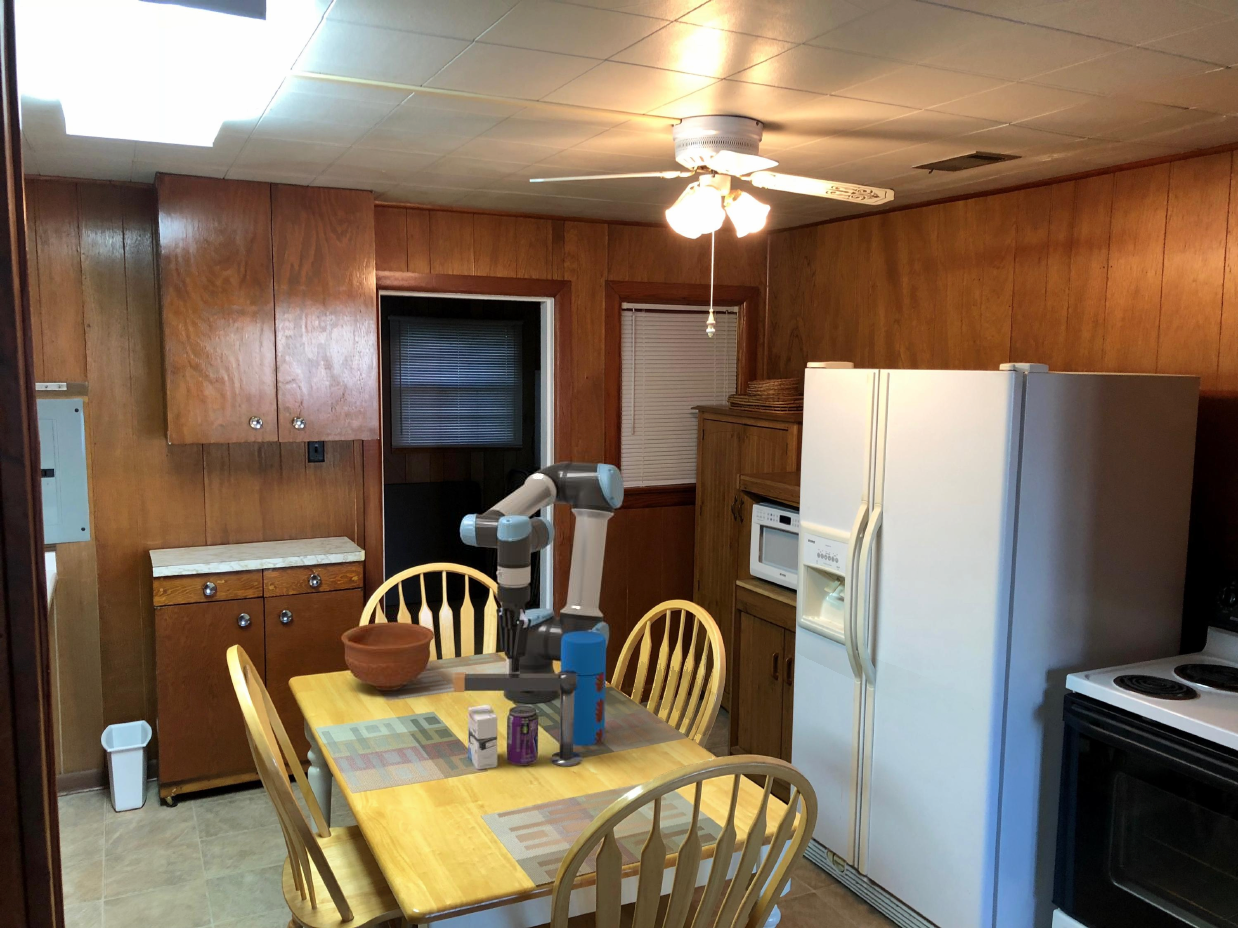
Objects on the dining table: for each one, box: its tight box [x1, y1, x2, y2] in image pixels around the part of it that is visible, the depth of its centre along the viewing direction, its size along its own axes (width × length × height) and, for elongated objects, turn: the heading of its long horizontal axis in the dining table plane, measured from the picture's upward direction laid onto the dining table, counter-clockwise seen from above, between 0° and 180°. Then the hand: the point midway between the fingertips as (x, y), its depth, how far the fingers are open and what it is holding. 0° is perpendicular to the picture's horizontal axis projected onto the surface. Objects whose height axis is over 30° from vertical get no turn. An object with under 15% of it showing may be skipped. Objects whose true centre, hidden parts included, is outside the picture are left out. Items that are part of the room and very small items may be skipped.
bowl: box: [341, 621, 435, 691], centre depth 267 cm, size 25×25×15 cm
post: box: [550, 691, 582, 768], centre depth 219 cm, size 7×7×16 cm
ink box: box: [467, 704, 498, 770], centre depth 218 cm, size 8×5×12 cm, turn 23°
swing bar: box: [453, 670, 577, 693], centre depth 217 cm, size 28×4×4 cm, turn 94°
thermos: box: [560, 631, 607, 747], centre depth 233 cm, size 11×11×25 cm
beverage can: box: [506, 705, 539, 766], centre depth 219 cm, size 7×7×12 cm
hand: (512, 684), depth 222 cm, fingers closed
